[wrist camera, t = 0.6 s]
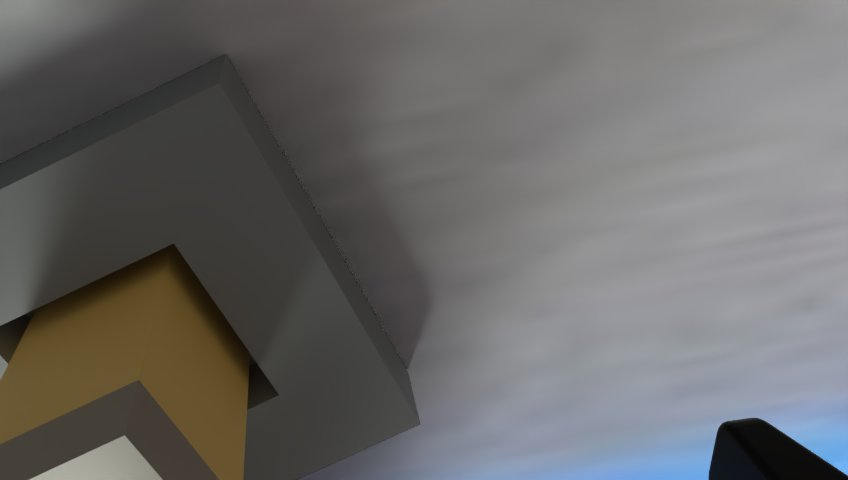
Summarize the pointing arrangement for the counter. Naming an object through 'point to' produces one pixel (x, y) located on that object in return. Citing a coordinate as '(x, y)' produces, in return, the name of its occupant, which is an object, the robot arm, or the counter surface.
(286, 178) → the grey square socket tray
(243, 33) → the counter surface
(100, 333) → the block
